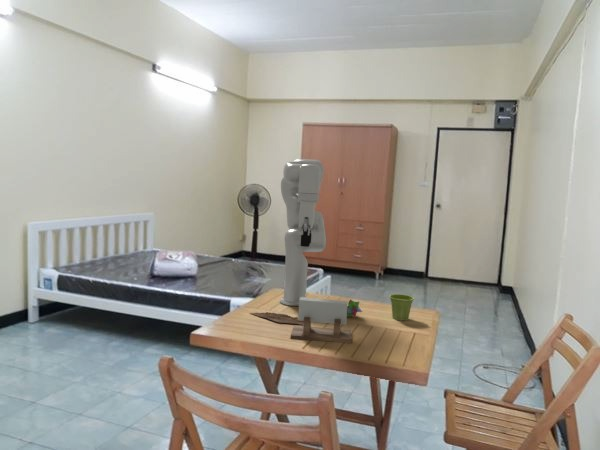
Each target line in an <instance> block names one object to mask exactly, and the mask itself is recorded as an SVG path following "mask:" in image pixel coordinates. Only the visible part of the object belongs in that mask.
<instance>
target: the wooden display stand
mask: <svg viewBox="0 0 600 450" xmlns="http://www.w3.org/2000/svg"><path fill="white" fill-rule="evenodd" d="M340 323H341V319H335V320H334V324H333V328H332V327H331V328H330V327H316V326H312V322H310V317H304V325H303V326H302V325H293V326H292V329H291V333H290V337H289V338H290V339H291V340H292V339H294V340H307V341H309V340H310V341H318V342H330V343H344V344H346V343H348V344H352V343H353V336H352V330H351V329H342V328H341V324H340Z"/></svg>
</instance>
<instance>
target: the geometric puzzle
mask: <svg viewBox="0 0 600 450" xmlns="http://www.w3.org/2000/svg"><path fill="white" fill-rule="evenodd" d="M359 305H360V301H354V300H352V299H349V300H348V304H347V317H349V318H350V319H351V318H353V319H354V320H355V319H356V318H357V316H359V315H360V314H361V313H363V310H362V309H361V308H360V307H359ZM358 313H359V314H358Z"/></svg>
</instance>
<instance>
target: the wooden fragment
mask: <svg viewBox="0 0 600 450" xmlns="http://www.w3.org/2000/svg"><path fill="white" fill-rule="evenodd" d="M249 315H254V316H258V317H260V318H264V319H268V320H269V321H273V322H276V323H278V324H292V325H300V326H302V325H303V326H304V321H299V320H298V317H297V316H296V317H295V316H291V315H289V314H286V313H276V312H268V311H266V312H249Z"/></svg>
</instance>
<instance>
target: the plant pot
mask: <svg viewBox="0 0 600 450" xmlns="http://www.w3.org/2000/svg"><path fill="white" fill-rule="evenodd" d="M389 298H390V303H391V315H392V317H391V318H393V319H394V320H396V321H402V320H403V321H408V320H409V317H410V313H411V309H412V305H413V301H414V300H415V297H413V296H411V295H408V294H401V293H395V294H390V295H389Z"/></svg>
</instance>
